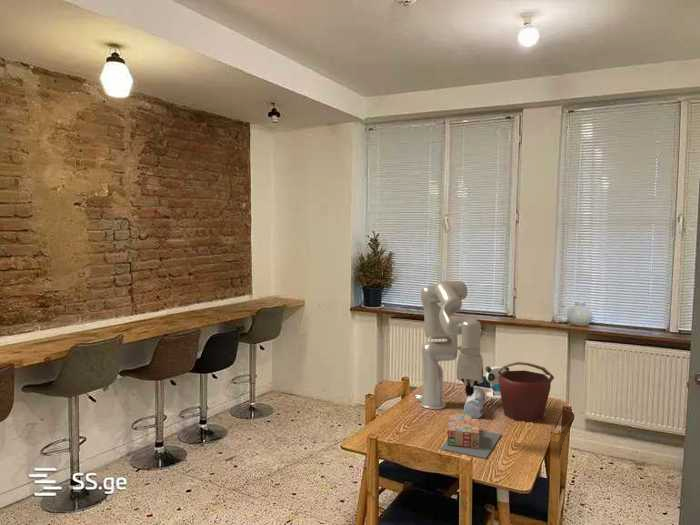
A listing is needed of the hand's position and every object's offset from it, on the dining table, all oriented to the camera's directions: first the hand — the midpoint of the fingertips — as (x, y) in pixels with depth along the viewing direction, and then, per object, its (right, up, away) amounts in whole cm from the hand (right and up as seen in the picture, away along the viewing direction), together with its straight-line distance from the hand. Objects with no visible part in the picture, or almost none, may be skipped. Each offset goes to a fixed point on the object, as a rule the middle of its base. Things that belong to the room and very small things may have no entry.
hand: (469, 395), depth 212 cm
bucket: (+32, -18, +30) cm, 47 cm away
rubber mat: (+1, -19, 0) cm, 19 cm away
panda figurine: (+29, -16, +61) cm, 69 cm away
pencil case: (+11, -17, +36) cm, 42 cm away
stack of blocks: (-8, -15, +6) cm, 18 cm away
